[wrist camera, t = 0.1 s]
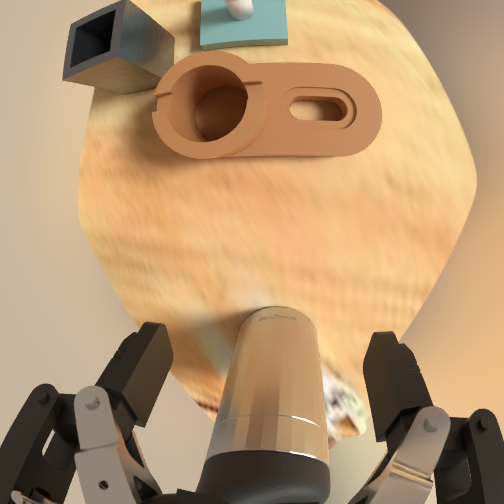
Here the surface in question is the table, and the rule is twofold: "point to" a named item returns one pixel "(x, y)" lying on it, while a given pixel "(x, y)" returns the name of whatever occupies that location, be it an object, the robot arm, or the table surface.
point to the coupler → (118, 50)
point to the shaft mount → (242, 23)
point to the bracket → (267, 108)
